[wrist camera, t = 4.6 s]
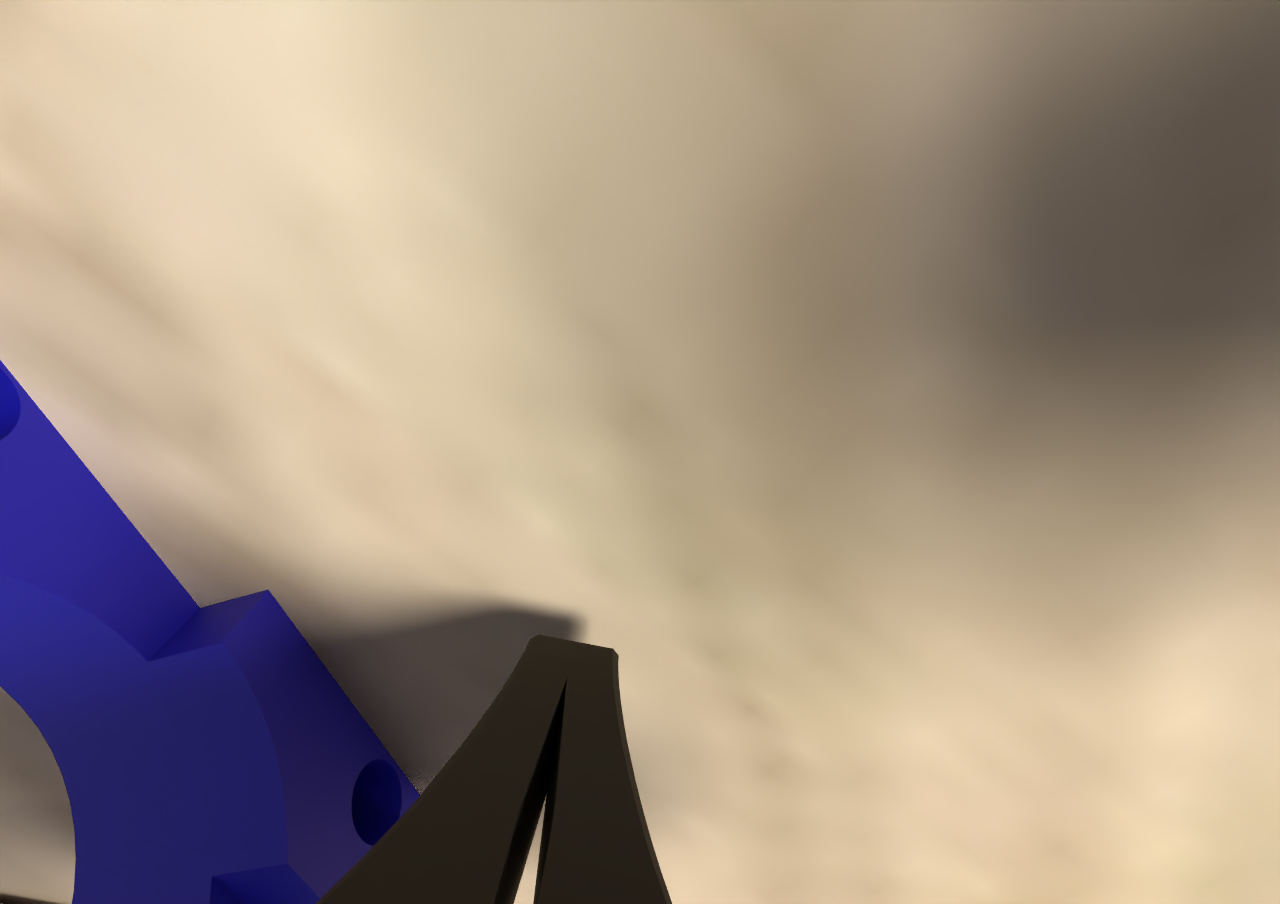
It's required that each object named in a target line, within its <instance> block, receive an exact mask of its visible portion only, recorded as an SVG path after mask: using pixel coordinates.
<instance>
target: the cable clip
mask: <svg viewBox="0 0 1280 904" xmlns="http://www.w3.org/2000/svg"><path fill="white" fill-rule="evenodd" d="M0 687H2V688H3V689H4V690H5V691H6V692H7V693H8V694H9V695H10V696H11V697H12V698H13V699H14V700H15V701H16V702H17V703H18V704H19V705H20V706H21V707H22V708H23V709H24V711H25V712H26V713H27V714H28V716H29V717H30V718H31V719H32V721H33V722H34V723H35V724H36V726H37V727H38V728H39V730H40V732H41V733H42V735H43V737H44V738H45V740H46V742H47V743H48V745H49V747H50V748H51V750H52V752H53V754H54V757H55V759H56V761H57V764H58V766H59V768H60V771H61V773H62V775H63V779H64V782H65V786H66V789H67V793H68V796H69V800H70V804H71V810H72V817H73V823H74V829H75V850H76V866H75V883H74V894H73V900H72V904H315V903H316V902H317V901H318V900H319V899H320V898H321V897H323V896H324V895H325V894H326V893H327V892H328V891H329V890H330V889H331V888H332V887H333V886H334V885H335V884H336V883H337V882H338V881H339V880H340V879H341V878H342V877H343V876H344V875H345V874H346V873H347V872H348V871H349V870H350V869H351V868H352V867H353V866H354V865H355V864H356V863H357V862H358V861H359V860H360V859H361V858H362V857H363V856H364V855H365V854H366V853H367V852H368V851H369V850H370V849H371V848H372V847H373V846H374V845H375V844H376V843H377V842H378V841H379V840H380V839H381V838H382V837H383V836H384V834H385V833H386V832H387V831H388V830H389V829H390V828H391V827H392V826H393V825H394V824H395V823H396V822H397V821H398V820H399V818H400V817H401V816H402V815H403V814H404V813H405V812H406V811H407V810H408V809H409V807H410V806H411V805H412V804H413V803H414V802H415V801H416V800H417V798H418V797H419V796H420V794H419V793H418V792H417V790H416V789H415V788H414V786H413V785H412V784H411V782H410V781H409V779H408V778H407V777H406V775H405V774H404V773H403V771H402V770H401V769H400V767H399V766H398V765H397V763H396V762H395V761H394V759H393V758H392V756H391V755H390V754H389V752H388V751H387V750H386V748H385V747H384V746H383V744H382V743H381V742H380V740H379V739H378V738H377V736H376V735H375V733H374V732H373V731H372V729H371V728H370V727H369V725H368V724H367V723H366V721H365V720H364V719H363V717H362V716H361V714H360V713H359V712H358V710H357V709H356V708H355V706H354V705H353V704H352V702H351V701H350V700H349V698H348V697H347V696H346V694H345V693H344V691H343V690H342V689H341V687H340V686H339V685H338V683H337V682H336V681H335V679H334V678H333V677H332V675H331V674H330V673H329V671H328V670H327V668H326V667H325V666H324V664H323V663H322V662H321V660H320V659H319V658H318V656H317V655H316V654H315V652H314V651H313V649H312V648H311V647H310V645H309V644H308V643H307V641H306V640H305V639H304V637H303V636H302V635H301V633H300V632H299V631H298V629H297V628H296V626H295V625H294V624H293V622H292V621H291V620H290V618H289V617H288V616H287V614H286V613H285V612H284V610H283V609H282V607H281V606H280V605H279V603H278V602H277V601H276V599H275V598H274V597H273V595H272V594H271V593H270V591H269V590H265V591H261V592H258V593H254V594H250V595H247V596H243V597H239V598H236V599H232V600H228V601H224V602H221V603H217V604H213V605H210V606H206V607H202V608H200V607H199V606H198V605H197V604H196V602H195V601H194V600H193V599H192V597H191V596H190V595H189V594H188V592H187V591H186V590H185V589H184V587H183V586H182V585H181V584H180V582H179V581H178V580H177V579H176V578H175V576H174V575H173V574H172V573H171V571H170V570H169V569H168V568H167V566H166V565H165V564H164V563H163V561H162V560H161V559H160V558H159V556H158V555H157V554H156V553H155V551H154V550H153V549H152V548H151V546H150V545H149V544H148V543H147V542H146V540H145V539H144V538H143V537H142V535H141V534H140V533H139V532H138V530H137V529H136V528H135V527H134V525H133V524H132V523H131V522H130V520H129V519H128V518H127V517H126V515H125V514H124V513H123V512H122V510H121V509H120V508H119V507H118V506H117V504H116V503H115V502H114V501H113V499H112V498H111V497H110V496H109V494H108V493H107V492H106V491H105V489H104V488H103V487H102V486H101V484H100V483H99V482H98V481H97V479H96V478H95V477H94V476H93V474H92V473H91V472H90V471H89V470H88V468H87V467H86V466H85V465H84V463H83V462H82V461H81V460H80V458H79V457H78V456H77V455H76V453H75V452H74V451H73V450H72V448H71V447H70V446H69V445H68V443H67V442H66V441H65V440H64V438H63V437H62V436H61V435H60V433H59V432H58V431H57V430H56V429H55V427H54V426H53V425H52V424H51V422H50V421H49V420H48V419H47V417H46V416H45V415H44V414H43V412H42V411H41V410H40V409H39V407H38V406H37V405H36V404H35V402H34V401H33V400H32V399H31V397H30V396H29V395H28V394H27V393H26V391H25V390H24V389H23V388H22V386H21V385H20V384H19V383H18V381H17V380H16V379H15V378H14V376H13V375H12V374H11V373H10V371H9V370H8V369H7V368H6V366H5V365H4V364H3V363H2V361H1V360H0Z"/></svg>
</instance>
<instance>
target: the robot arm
mask: <svg viewBox="0 0 1280 904" xmlns="http://www.w3.org/2000/svg"><path fill="white" fill-rule="evenodd" d="M546 794H547V796H546ZM545 797H546V804H545V812H544V820H543V828H542V837H541V845H540V853H539V862H538V870H537V878H536V887H535V895H534V903H533V904H672V902H671V899H670V896H669V893H668V890H667V887H666V885H665V882H664V879H663V876H662V873H661V870H660V867H659V863H658V860H657V857H656V854H655V851H654V847H653V844H652V841H651V837H650V834H649V830H648V827H647V823H646V820H645V816H644V812H643V809H642V805H641V801H640V797H639V793H638V789H637V785H636V781H635V777H634V772H633V767H632V763H631V758H630V753H629V749H628V744H627V739H626V733H625V728H624V721H623V714H622V707H621V700H620V691H619V677H618V654H617V653H616V652H615V651H614V649H611V648H606V647H601V646H595V645H590V644H585V643H579V642H574V641H568V640H563V639H558V638H552V637H547V636H542V635H537V636H535V637H533V638H531V639H530V641H529V643H528V645H527V647H526V650H525V652H524V653H523V655H522V657H521V659H520V661H519V662H518V664H517V666H516V668H515V669H514V671H513V673H512V674H511V676H510V678H509V679H508V681H507V682H506V684H505V685H504V687H503V688H502V690H501V691H500V693H499V694H498V696H497V697H496V699H495V700H494V702H493V703H492V705H491V706H490V707H489V709H488V710H487V712H486V713H485V714H484V716H483V717H482V718H481V720H480V721H479V722H478V724H477V725H476V727H475V728H474V729H473V731H472V732H471V733H470V735H469V736H468V738H467V739H466V740H465V741H464V743H463V744H462V745H461V747H460V748H459V749H458V750H457V752H456V753H455V754H454V755H453V756H452V758H451V759H450V760H449V761H448V763H447V764H446V765H445V766H444V767H443V769H442V770H441V771H440V772H439V773H438V775H437V776H436V777H435V778H434V780H433V781H432V782H431V783H430V784H429V786H428V787H427V788H426V789H425V790H424V792H423V793H422V794H421V795H420V796H419V797H418V798H417V800H416V801H415V802H414V803H413V804H412V805H411V806H410V807H409V809H408V810H407V811H406V812H405V813H404V814H403V815H402V816H401V817H400V818H399V820H398V821H397V822H396V823H395V824H394V825H393V826H392V827H391V828H390V829H389V830H388V831H387V832H386V833H385V834H384V836H383V837H382V838H381V839H380V840H379V841H378V842H377V843H376V844H375V845H374V846H373V847H372V848H371V849H370V850H369V851H368V852H367V853H366V854H365V855H364V856H363V857H362V858H361V859H360V860H359V861H358V862H357V863H356V864H355V865H354V866H353V867H352V868H351V869H350V870H349V871H348V872H347V873H346V874H345V875H344V876H343V877H342V878H341V879H340V880H339V881H338V882H337V883H336V884H335V885H334V886H333V887H332V888H331V889H330V890H329V891H328V892H327V893H326V894H325V895H324V896H323V897H321V898H320V899H319V900H318V901H317V902H316V903H315V904H513V903H514V900H515V897H516V893H517V890H518V887H519V883H520V880H521V877H522V874H523V870H524V867H525V864H526V860H527V857H528V854H529V850H530V847H531V844H532V840H533V837H534V834H535V830H536V827H537V824H538V820H539V817H540V814H541V811H542V807H543V804H544V800H545ZM0 904H1V903H0Z"/></svg>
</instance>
